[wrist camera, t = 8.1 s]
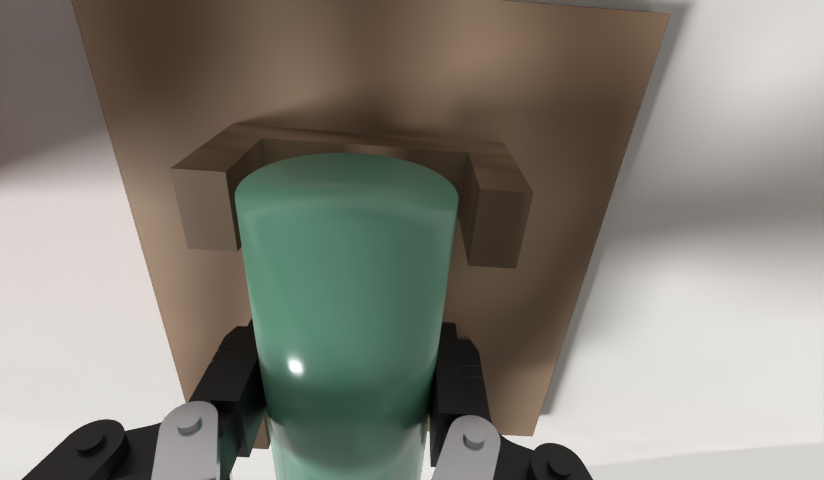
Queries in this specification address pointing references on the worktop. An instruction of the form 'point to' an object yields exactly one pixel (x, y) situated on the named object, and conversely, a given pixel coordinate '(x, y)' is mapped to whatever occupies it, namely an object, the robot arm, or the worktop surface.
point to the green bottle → (347, 308)
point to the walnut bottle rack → (377, 147)
